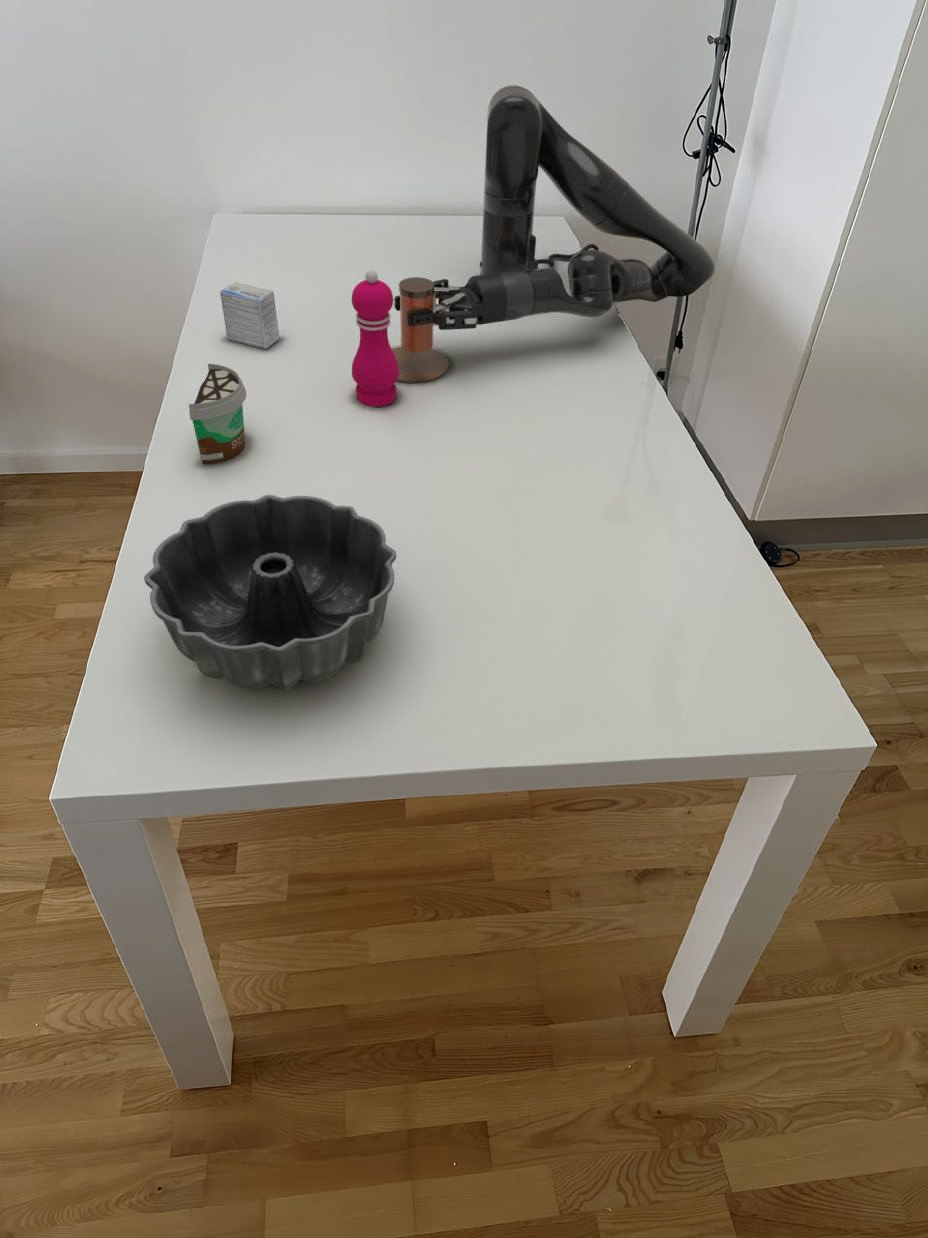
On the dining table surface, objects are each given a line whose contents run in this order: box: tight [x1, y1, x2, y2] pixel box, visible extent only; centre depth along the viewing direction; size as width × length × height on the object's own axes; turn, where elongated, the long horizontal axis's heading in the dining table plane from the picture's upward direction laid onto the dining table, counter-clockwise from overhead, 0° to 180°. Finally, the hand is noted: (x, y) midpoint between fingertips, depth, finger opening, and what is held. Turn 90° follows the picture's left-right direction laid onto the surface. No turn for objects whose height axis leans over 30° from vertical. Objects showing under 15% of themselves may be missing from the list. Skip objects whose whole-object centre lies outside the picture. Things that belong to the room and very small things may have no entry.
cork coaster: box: [391, 346, 450, 384], centre depth 152 cm, size 12×12×1 cm
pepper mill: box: [351, 269, 399, 408], centre depth 138 cm, size 7×7×20 cm
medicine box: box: [219, 281, 280, 350], centre depth 154 cm, size 8×4×9 cm, turn 65°
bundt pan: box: [143, 494, 397, 692], centre depth 102 cm, size 26×26×10 cm
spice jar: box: [398, 276, 434, 352], centre depth 146 cm, size 6×6×10 cm
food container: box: [188, 363, 247, 465], centre depth 129 cm, size 12×6×10 cm, turn 179°
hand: (401, 311), depth 145 cm, fingers closed on spice jar, 5 cm apart
